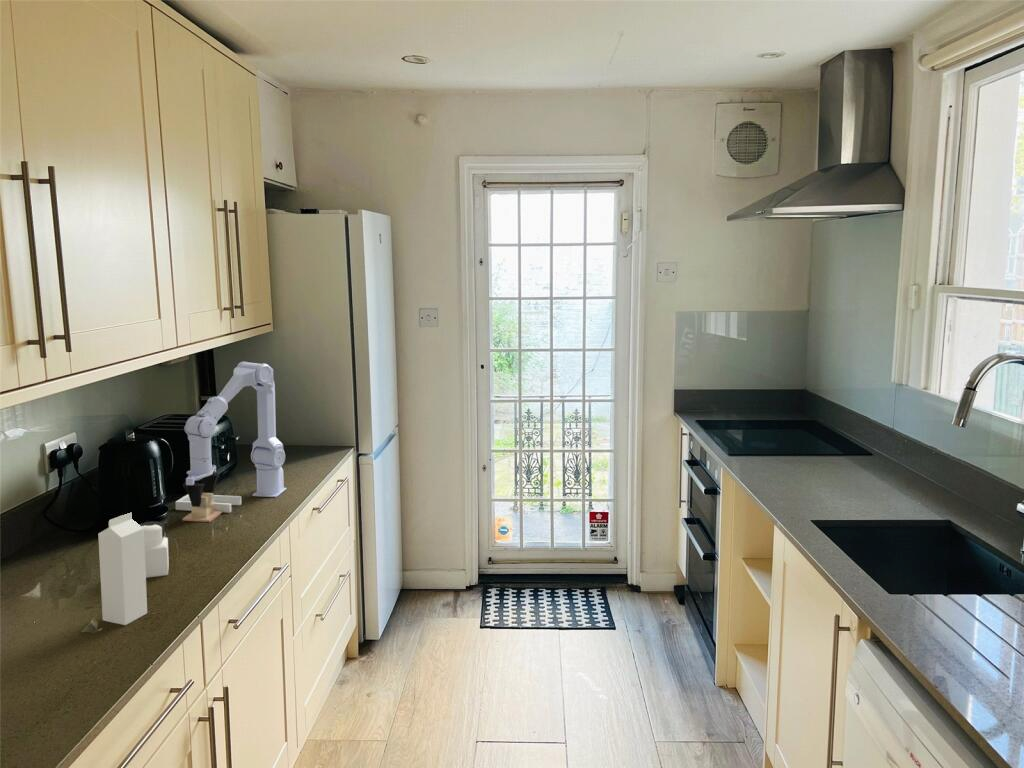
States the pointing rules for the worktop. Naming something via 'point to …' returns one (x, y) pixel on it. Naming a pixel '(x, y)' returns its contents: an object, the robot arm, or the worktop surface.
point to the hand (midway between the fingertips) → (202, 502)
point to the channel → (219, 503)
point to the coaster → (208, 519)
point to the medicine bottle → (155, 549)
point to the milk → (122, 570)
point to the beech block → (204, 506)
